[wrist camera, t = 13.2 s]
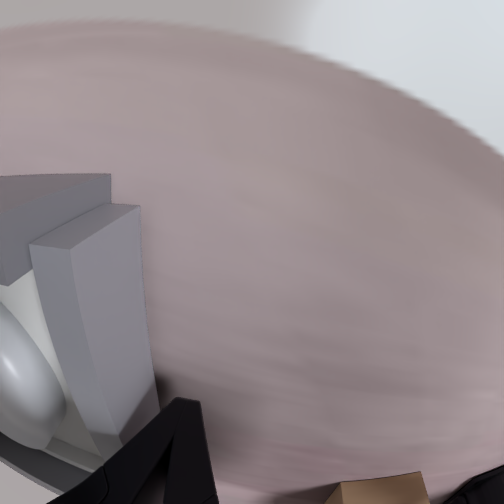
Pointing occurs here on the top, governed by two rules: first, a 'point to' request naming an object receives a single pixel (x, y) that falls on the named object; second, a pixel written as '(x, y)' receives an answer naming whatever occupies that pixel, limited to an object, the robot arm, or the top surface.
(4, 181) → the player housing
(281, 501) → the top surface
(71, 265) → the tray
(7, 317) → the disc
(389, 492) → the block
